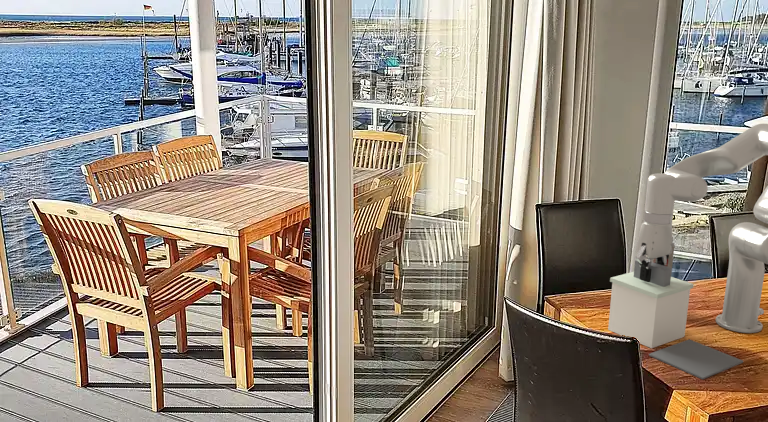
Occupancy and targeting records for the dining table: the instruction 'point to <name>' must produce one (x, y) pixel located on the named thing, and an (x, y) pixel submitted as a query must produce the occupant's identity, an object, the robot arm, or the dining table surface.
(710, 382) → the dining table surface
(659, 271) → the lid
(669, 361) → the mat
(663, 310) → the storage box
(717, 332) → the dining table surface
